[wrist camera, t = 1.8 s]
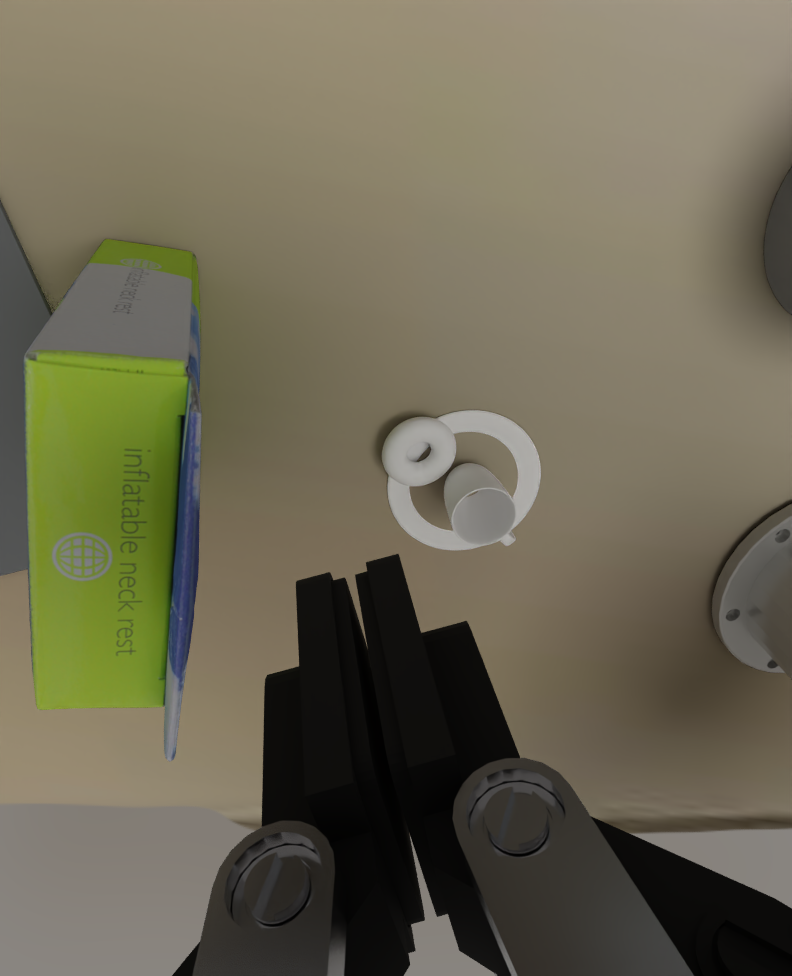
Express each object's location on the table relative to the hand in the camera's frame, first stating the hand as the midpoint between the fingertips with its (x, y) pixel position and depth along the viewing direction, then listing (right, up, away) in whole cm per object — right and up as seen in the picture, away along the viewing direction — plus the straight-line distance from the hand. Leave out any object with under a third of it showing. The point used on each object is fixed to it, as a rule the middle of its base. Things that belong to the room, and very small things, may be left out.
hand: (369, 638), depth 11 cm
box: (-10, +8, +19) cm, 23 cm away
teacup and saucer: (+5, +6, +23) cm, 24 cm away
